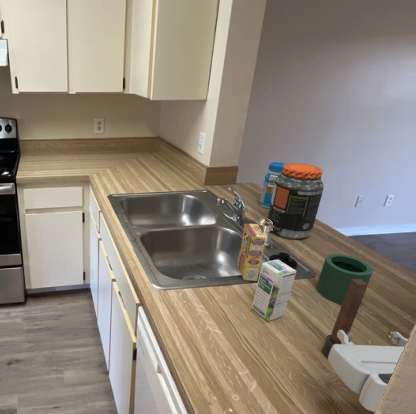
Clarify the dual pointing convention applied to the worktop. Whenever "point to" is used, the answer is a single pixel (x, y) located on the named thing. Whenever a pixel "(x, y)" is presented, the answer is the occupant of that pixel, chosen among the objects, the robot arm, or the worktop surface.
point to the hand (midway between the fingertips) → (366, 333)
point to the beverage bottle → (270, 183)
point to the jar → (341, 275)
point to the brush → (346, 313)
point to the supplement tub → (296, 200)
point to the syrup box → (273, 289)
